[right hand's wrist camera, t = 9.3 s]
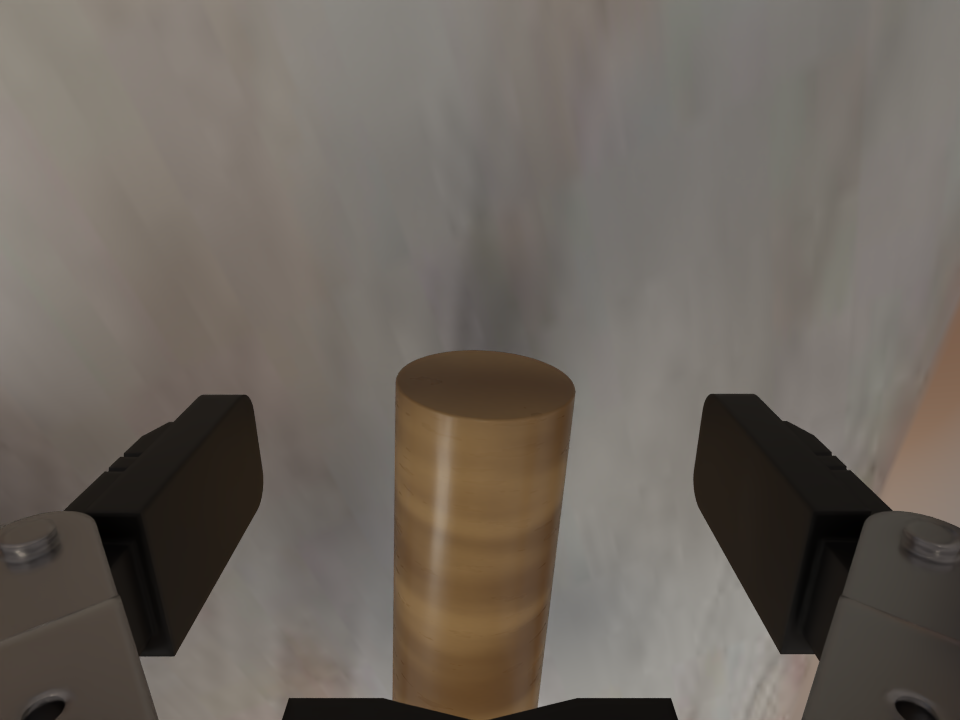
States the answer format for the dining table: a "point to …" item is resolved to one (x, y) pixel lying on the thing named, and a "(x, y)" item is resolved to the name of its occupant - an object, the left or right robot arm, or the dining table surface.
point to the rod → (476, 528)
